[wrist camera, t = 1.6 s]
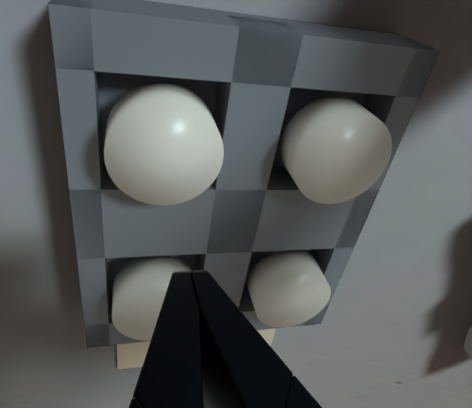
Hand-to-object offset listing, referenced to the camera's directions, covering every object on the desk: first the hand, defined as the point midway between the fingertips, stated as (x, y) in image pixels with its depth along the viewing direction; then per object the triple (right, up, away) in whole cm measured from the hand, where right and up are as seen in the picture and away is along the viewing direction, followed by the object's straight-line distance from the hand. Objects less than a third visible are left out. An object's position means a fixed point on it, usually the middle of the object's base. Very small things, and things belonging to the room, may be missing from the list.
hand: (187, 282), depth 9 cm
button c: (+4, -2, +14) cm, 14 cm away
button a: (+5, +5, +9) cm, 11 cm away
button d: (-3, -2, +12) cm, 12 cm away
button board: (0, +3, +12) cm, 12 cm away
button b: (-2, +5, +7) cm, 8 cm away
